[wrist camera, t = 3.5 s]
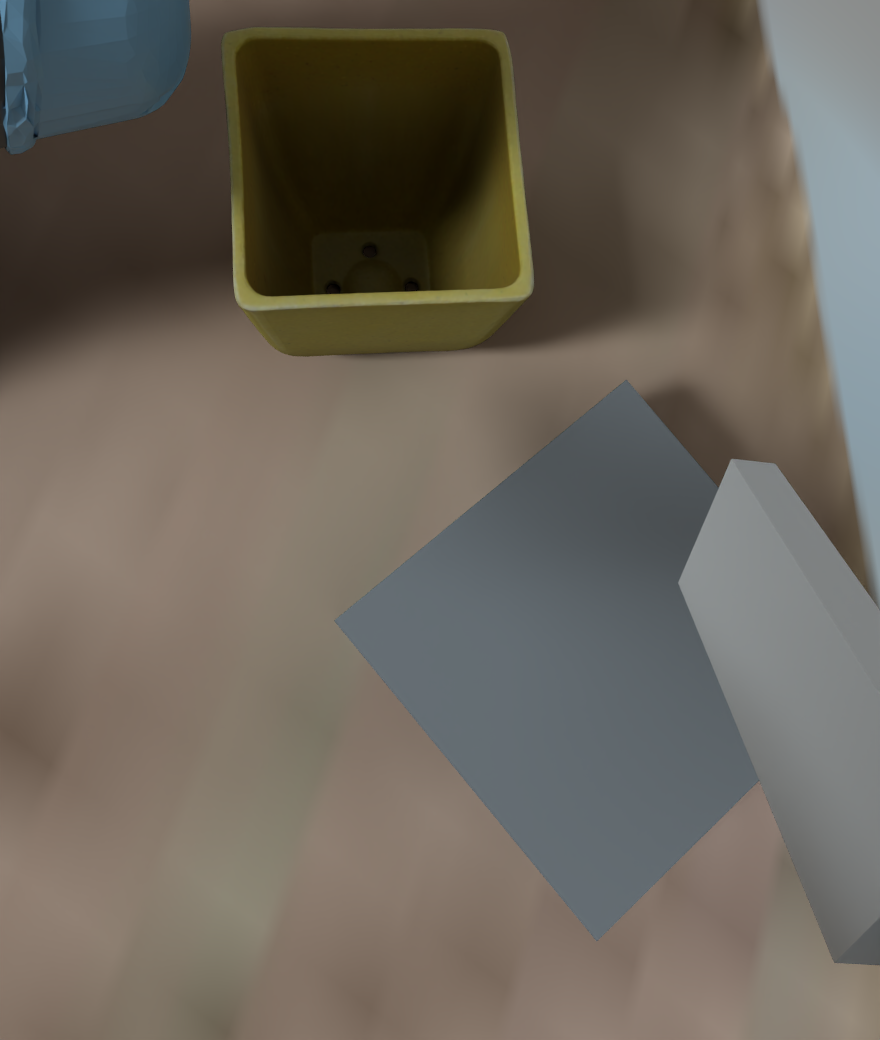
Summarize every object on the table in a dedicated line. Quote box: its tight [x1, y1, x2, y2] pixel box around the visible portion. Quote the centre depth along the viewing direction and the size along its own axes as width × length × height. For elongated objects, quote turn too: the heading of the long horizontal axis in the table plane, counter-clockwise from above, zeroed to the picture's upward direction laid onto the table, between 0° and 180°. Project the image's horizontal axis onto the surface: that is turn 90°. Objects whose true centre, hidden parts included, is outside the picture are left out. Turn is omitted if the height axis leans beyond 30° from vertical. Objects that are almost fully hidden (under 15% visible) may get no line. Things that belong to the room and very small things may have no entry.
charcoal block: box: [334, 380, 759, 941], centre depth 27 cm, size 13×13×5 cm
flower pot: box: [221, 27, 534, 356], centre depth 26 cm, size 9×9×9 cm
